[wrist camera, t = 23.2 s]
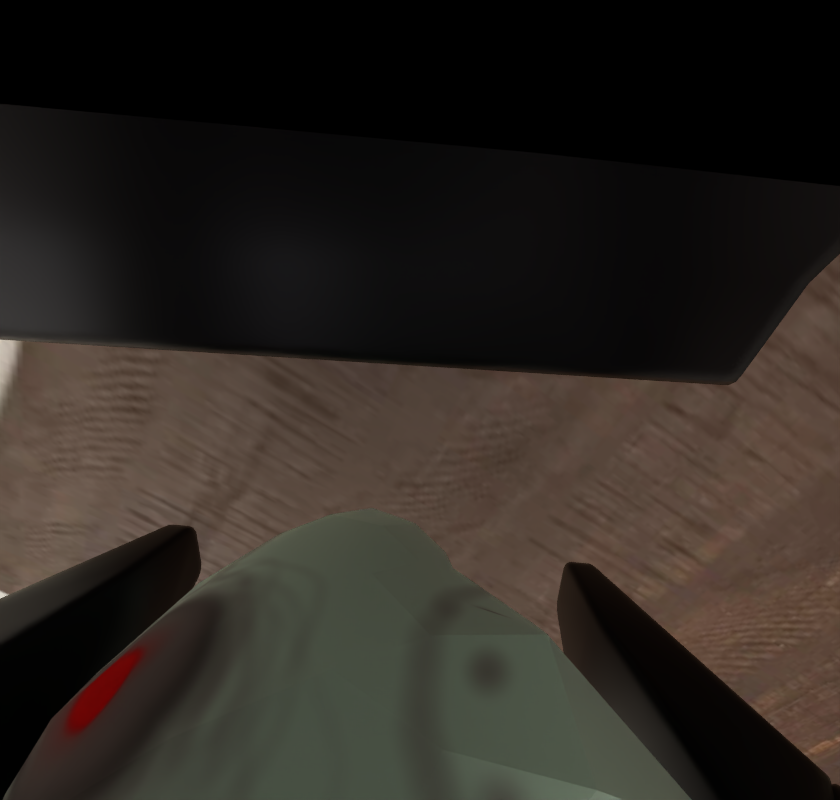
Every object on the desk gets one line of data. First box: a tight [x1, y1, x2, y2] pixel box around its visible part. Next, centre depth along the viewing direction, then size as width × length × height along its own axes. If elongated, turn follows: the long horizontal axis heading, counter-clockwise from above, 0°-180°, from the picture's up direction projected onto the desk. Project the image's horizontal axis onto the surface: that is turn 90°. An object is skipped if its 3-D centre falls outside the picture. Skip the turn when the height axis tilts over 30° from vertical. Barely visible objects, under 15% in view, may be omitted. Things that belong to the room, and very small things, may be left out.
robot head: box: [3, 508, 691, 800], centre depth 5 cm, size 8×4×7 cm, turn 122°
